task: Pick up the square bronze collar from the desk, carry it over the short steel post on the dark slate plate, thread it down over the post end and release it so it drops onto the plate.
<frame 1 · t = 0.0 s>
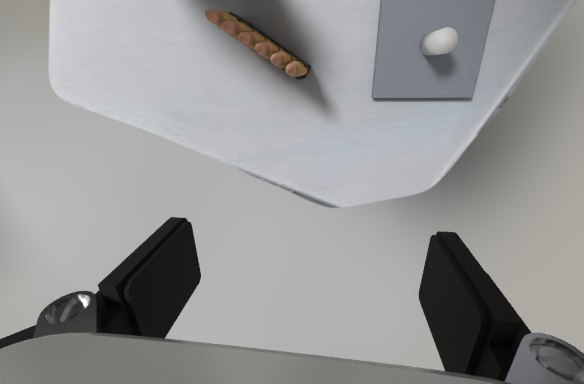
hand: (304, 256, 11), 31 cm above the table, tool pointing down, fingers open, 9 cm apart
post plate: (427, 45, 34), on the table
ammunition clip: (273, 49, 37), on the table
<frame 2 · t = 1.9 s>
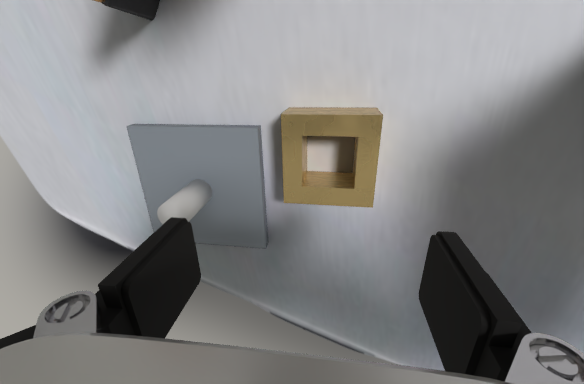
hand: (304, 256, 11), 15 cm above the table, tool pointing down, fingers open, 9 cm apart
post plate: (204, 186, 27), on the table
collar: (330, 150, 24), on the table
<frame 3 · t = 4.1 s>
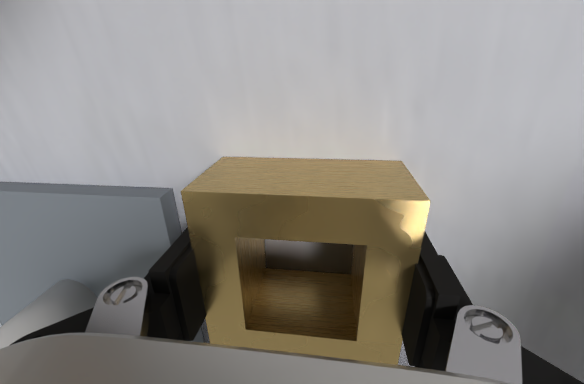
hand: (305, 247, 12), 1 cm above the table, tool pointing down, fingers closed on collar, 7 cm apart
post plate: (91, 284, 16), on the table
collar: (308, 234, 12), on the table, touching gripper
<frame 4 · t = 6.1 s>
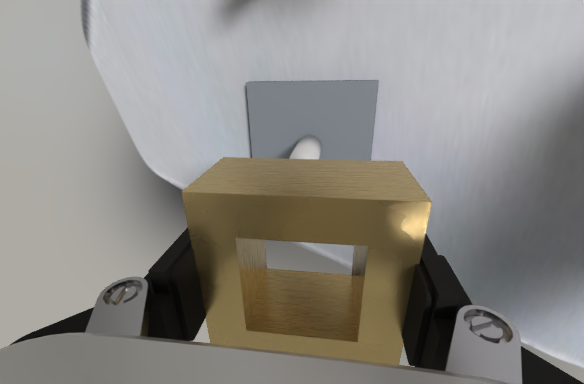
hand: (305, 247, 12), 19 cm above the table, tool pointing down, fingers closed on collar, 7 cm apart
post plate: (310, 143, 29), on the table
collar: (308, 235, 12), point 18 cm above the table, touching gripper
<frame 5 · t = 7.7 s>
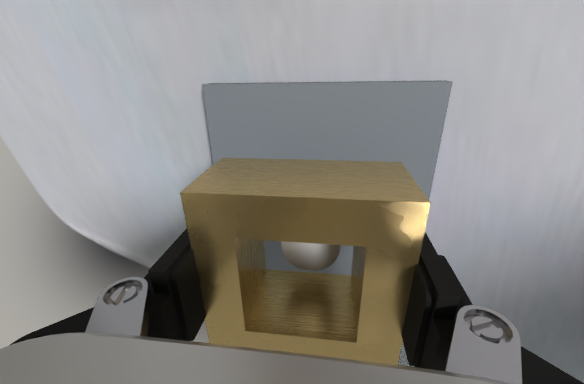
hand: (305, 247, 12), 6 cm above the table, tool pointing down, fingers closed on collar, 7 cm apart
post plate: (318, 189, 17), on the table
collar: (307, 235, 12), point 5 cm above the table, touching gripper
when the fingers open (5 cm above the table, at t = 8.7 s): collar drops 3 cm, resting on post plate.
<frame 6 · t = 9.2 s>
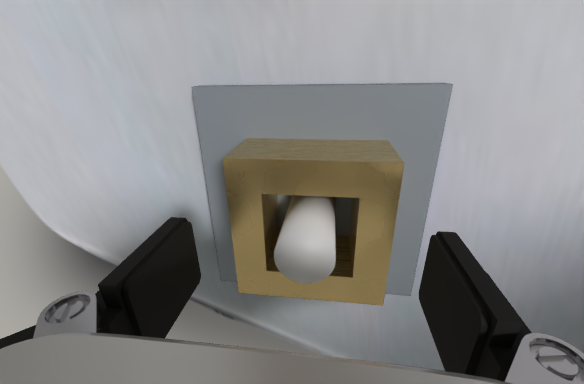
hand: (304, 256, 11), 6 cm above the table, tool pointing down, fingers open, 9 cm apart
post plate: (314, 195, 16), on the table
collar: (314, 202, 15), point 1 cm above the table, touching post plate
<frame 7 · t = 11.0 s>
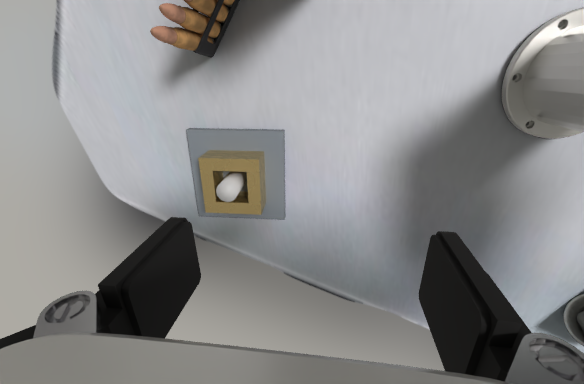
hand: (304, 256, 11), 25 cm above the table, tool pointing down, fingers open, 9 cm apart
post plate: (239, 174, 37), on the table
ammunition clip: (227, 6, 30), on the table
collar: (238, 177, 36), point 1 cm above the table, touching post plate
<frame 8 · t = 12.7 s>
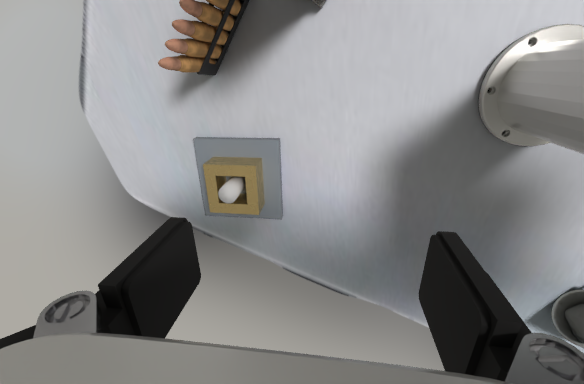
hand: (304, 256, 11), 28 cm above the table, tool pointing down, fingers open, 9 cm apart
post plate: (241, 178, 41), on the table
ammunition clip: (227, 30, 34), on the table
collar: (239, 180, 41), point 1 cm above the table, touching post plate
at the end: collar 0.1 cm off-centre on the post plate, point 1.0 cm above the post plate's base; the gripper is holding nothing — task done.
